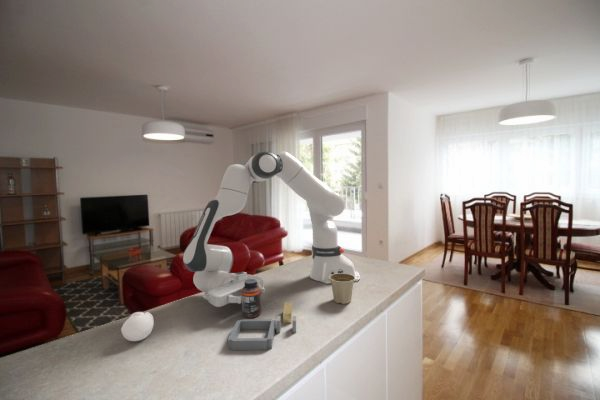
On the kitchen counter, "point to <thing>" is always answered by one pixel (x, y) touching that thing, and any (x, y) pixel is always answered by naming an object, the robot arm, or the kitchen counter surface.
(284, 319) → the bar
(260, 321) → the dock
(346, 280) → the flower pot
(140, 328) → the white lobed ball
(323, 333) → the kitchen counter surface
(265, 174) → the robot arm
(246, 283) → the supplement bottle
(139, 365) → the kitchen counter surface
